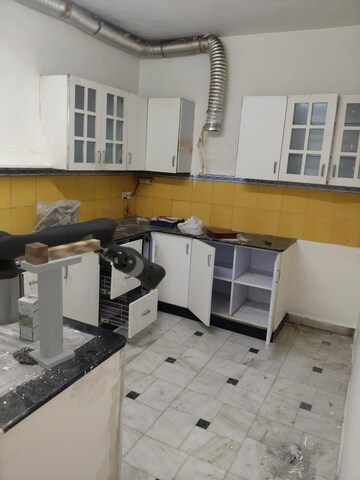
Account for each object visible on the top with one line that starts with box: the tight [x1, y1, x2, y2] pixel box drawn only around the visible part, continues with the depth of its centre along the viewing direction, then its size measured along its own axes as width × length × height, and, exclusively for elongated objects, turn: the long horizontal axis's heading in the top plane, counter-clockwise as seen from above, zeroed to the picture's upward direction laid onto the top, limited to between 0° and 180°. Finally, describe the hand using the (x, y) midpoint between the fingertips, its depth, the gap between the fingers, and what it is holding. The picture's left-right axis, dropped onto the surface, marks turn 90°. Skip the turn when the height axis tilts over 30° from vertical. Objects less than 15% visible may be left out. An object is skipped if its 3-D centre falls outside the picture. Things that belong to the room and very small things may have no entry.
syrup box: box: [18, 294, 40, 343], centre depth 129 cm, size 6×6×14 cm
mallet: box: [24, 238, 101, 265], centre depth 116 cm, size 24×5×5 cm, turn 143°
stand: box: [20, 254, 83, 371], centre depth 117 cm, size 16×10×32 cm, turn 143°
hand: (99, 248), depth 126 cm, fingers open, 8 cm apart
